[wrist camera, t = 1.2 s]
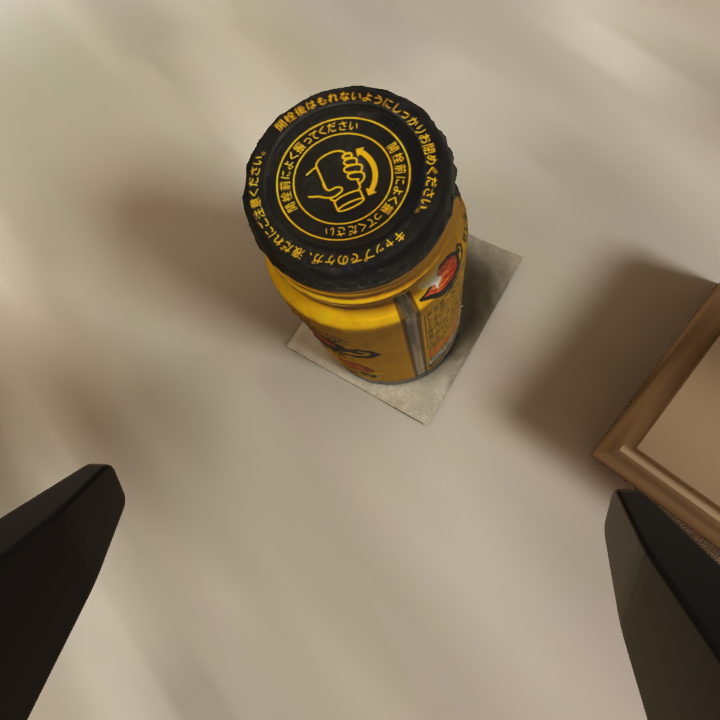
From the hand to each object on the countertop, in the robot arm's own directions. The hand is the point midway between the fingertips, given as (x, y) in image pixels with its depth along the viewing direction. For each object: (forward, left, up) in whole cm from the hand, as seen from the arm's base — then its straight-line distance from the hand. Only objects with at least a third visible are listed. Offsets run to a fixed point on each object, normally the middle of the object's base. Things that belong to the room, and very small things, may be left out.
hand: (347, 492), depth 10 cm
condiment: (+6, +5, -14) cm, 16 cm away
